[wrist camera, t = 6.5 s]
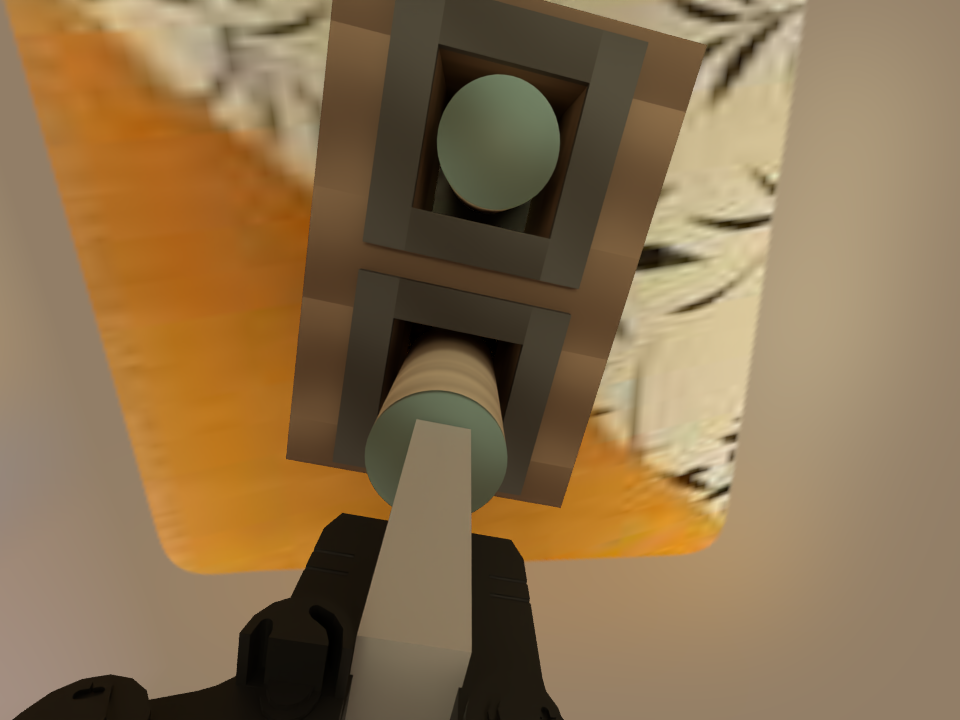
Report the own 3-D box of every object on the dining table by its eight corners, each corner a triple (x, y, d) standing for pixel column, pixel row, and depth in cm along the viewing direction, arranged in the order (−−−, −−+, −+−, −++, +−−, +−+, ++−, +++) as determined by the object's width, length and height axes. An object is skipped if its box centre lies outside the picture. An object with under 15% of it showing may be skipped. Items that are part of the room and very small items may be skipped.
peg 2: (457, 119, 22) (450, 59, 14) (537, 138, 22) (574, 92, 14) (442, 204, 23) (427, 195, 15) (517, 221, 23) (542, 221, 15)
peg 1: (414, 317, 20) (375, 381, 12) (502, 335, 20) (522, 409, 12) (399, 399, 21) (355, 507, 13) (482, 415, 21) (490, 531, 13)
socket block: (386, 44, 21) (334, -64, 13) (625, 106, 22) (713, 40, 14) (339, 390, 26) (282, 463, 18) (535, 427, 27) (562, 513, 19)
